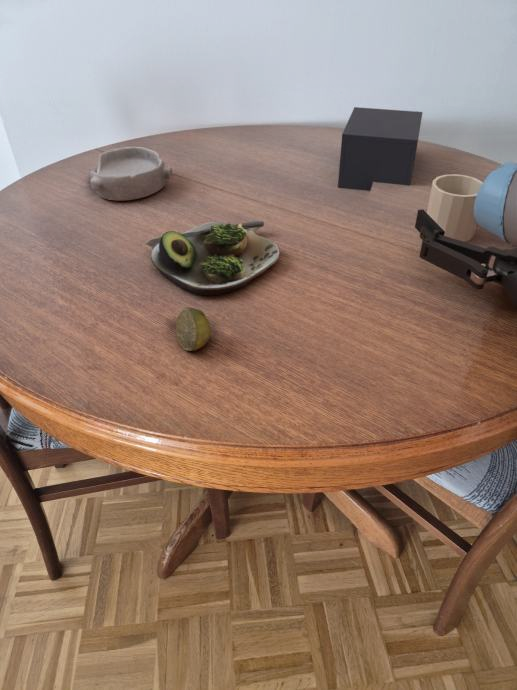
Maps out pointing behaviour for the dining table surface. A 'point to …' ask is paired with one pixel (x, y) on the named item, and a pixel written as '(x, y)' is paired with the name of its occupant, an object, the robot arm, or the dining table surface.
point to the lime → (192, 329)
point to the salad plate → (213, 256)
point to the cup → (454, 205)
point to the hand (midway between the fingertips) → (462, 212)
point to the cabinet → (378, 147)
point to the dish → (129, 173)
